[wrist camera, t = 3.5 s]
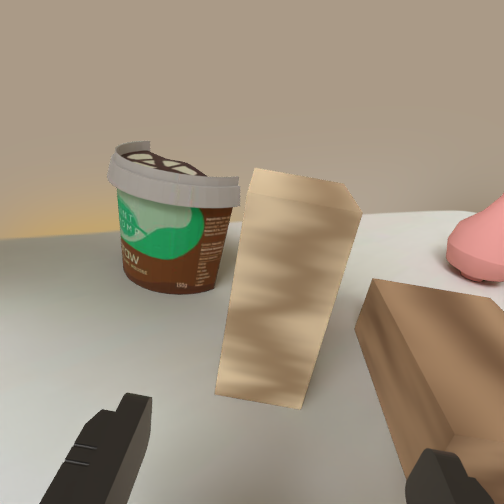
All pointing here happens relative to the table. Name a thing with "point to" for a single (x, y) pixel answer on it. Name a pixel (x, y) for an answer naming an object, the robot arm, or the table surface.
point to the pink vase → (479, 244)
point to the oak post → (284, 285)
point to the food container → (170, 219)
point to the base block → (438, 374)
